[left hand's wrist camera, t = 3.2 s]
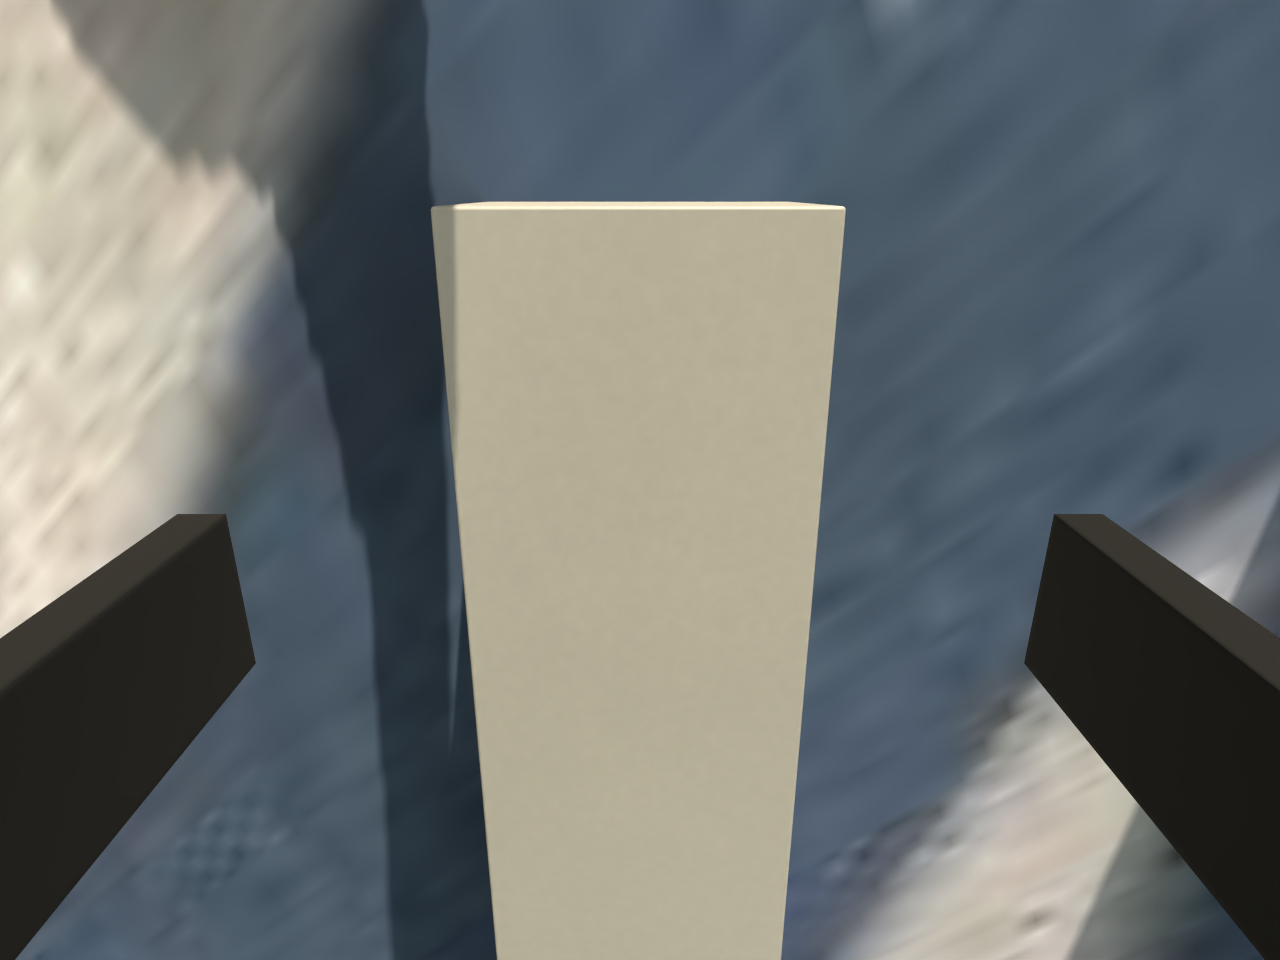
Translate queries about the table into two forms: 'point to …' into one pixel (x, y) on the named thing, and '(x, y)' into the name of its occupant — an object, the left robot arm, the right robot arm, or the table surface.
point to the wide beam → (638, 557)
